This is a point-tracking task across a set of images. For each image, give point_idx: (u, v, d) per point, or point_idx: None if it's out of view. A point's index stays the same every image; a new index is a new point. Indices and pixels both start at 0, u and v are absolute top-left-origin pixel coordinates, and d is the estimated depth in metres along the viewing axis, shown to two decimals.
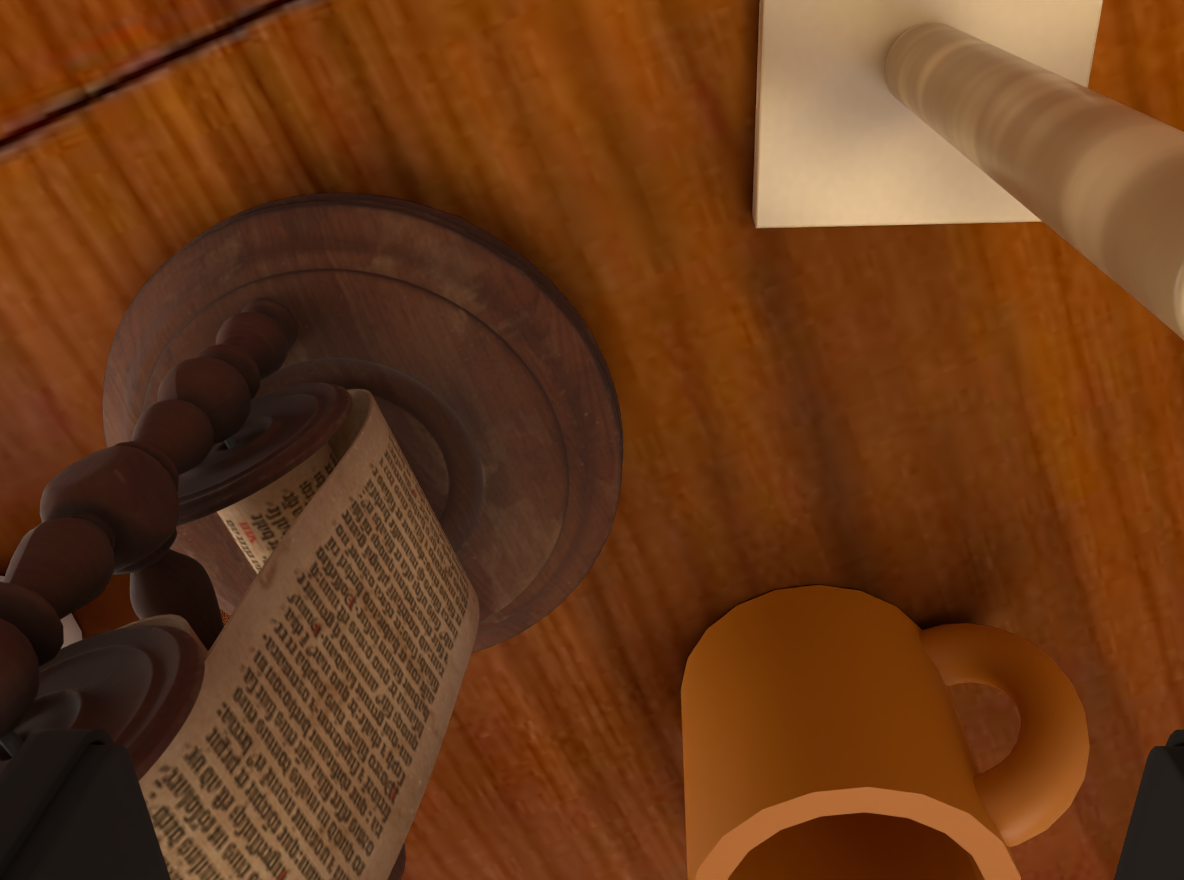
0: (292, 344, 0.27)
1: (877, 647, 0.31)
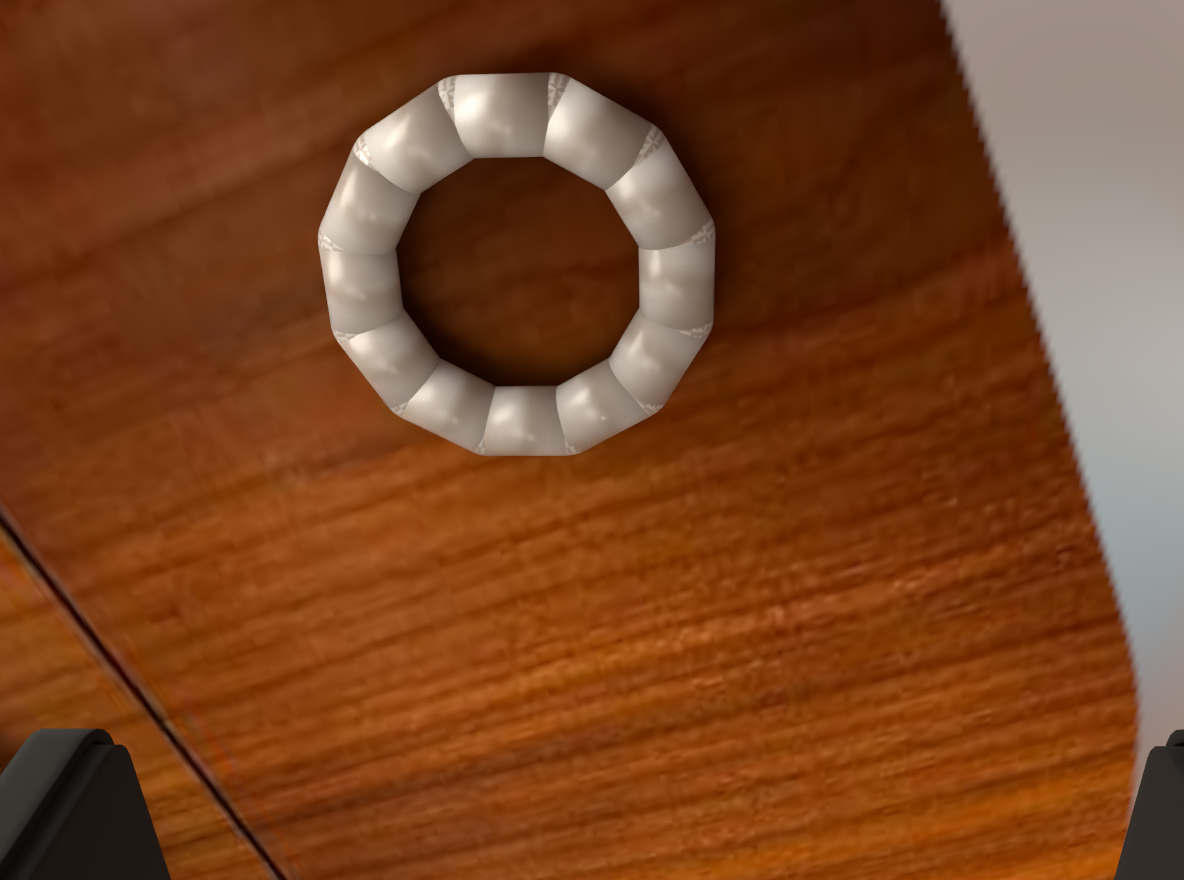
0: None
1: None
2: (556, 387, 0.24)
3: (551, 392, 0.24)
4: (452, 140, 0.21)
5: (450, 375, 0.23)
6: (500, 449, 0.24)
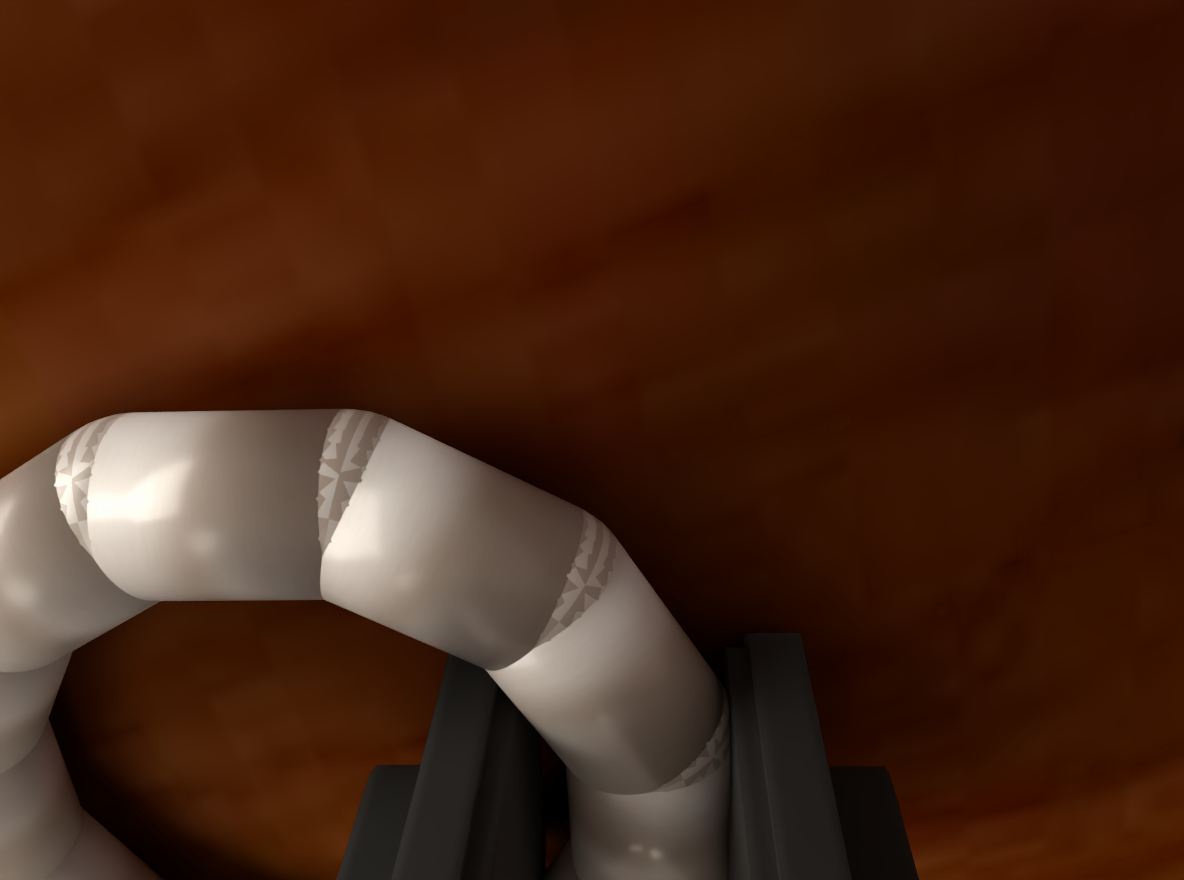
0: None
1: None
2: None
3: None
4: (97, 586, 0.08)
5: None
6: None
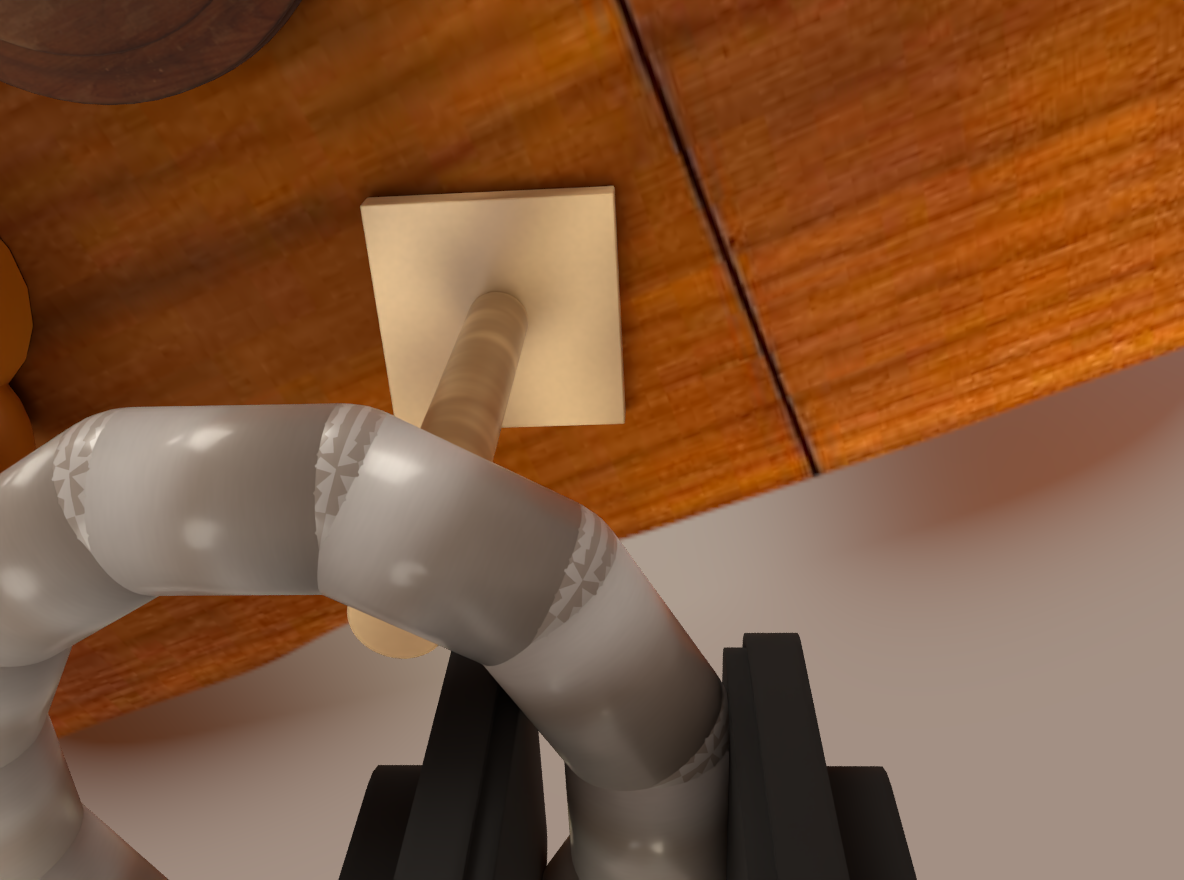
0: None
1: None
2: None
3: None
4: (93, 580, 0.08)
5: None
6: None
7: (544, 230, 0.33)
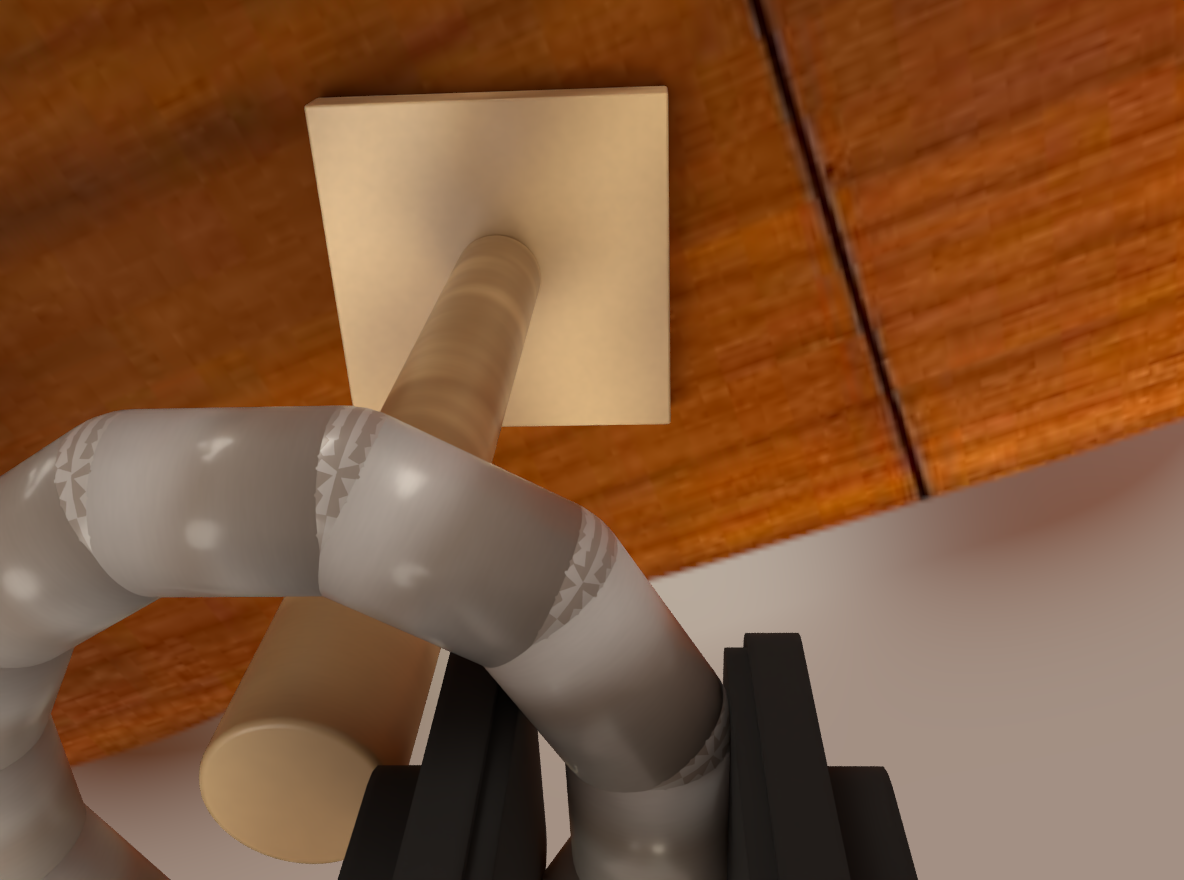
0: None
1: None
2: None
3: None
4: (97, 582, 0.08)
5: None
6: None
7: (566, 146, 0.23)
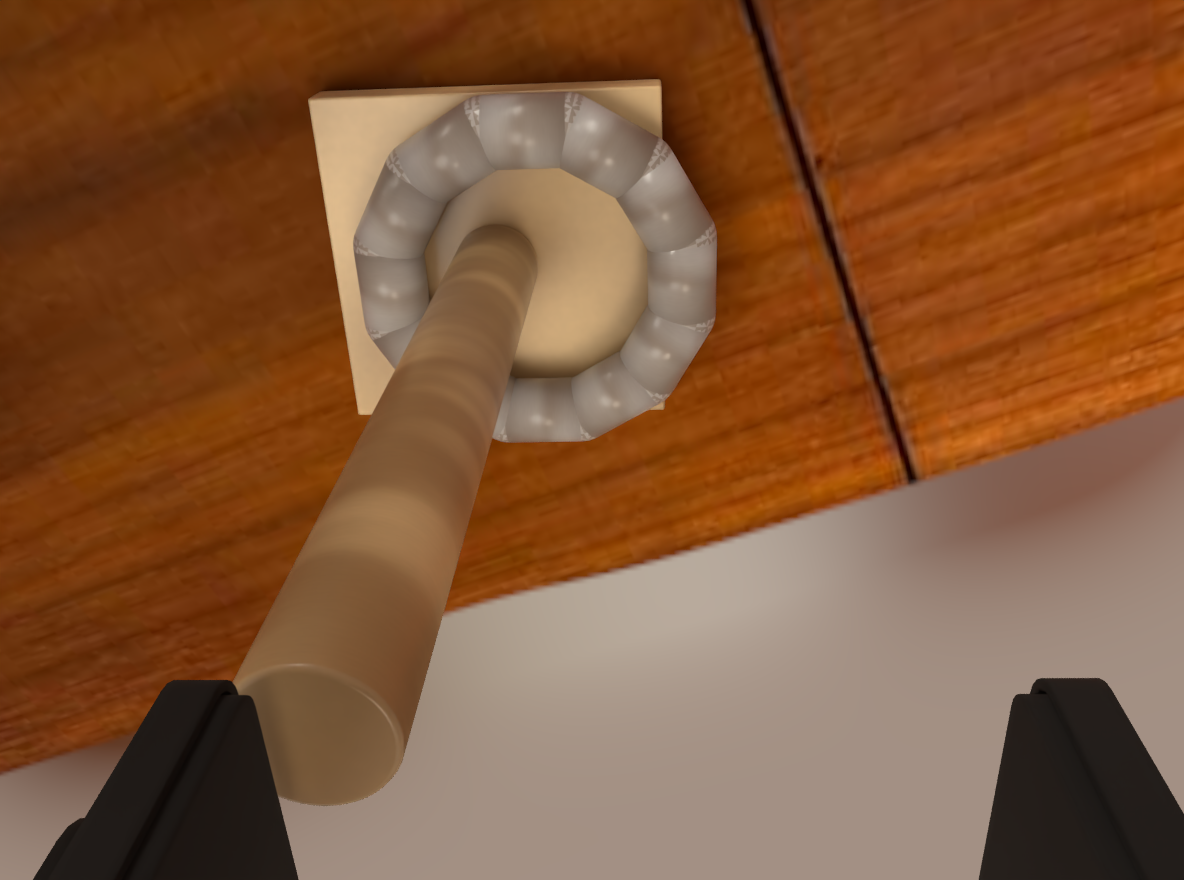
0: None
1: None
2: (571, 378, 0.26)
3: (567, 383, 0.26)
4: (477, 154, 0.23)
5: None
6: (520, 436, 0.26)
7: None
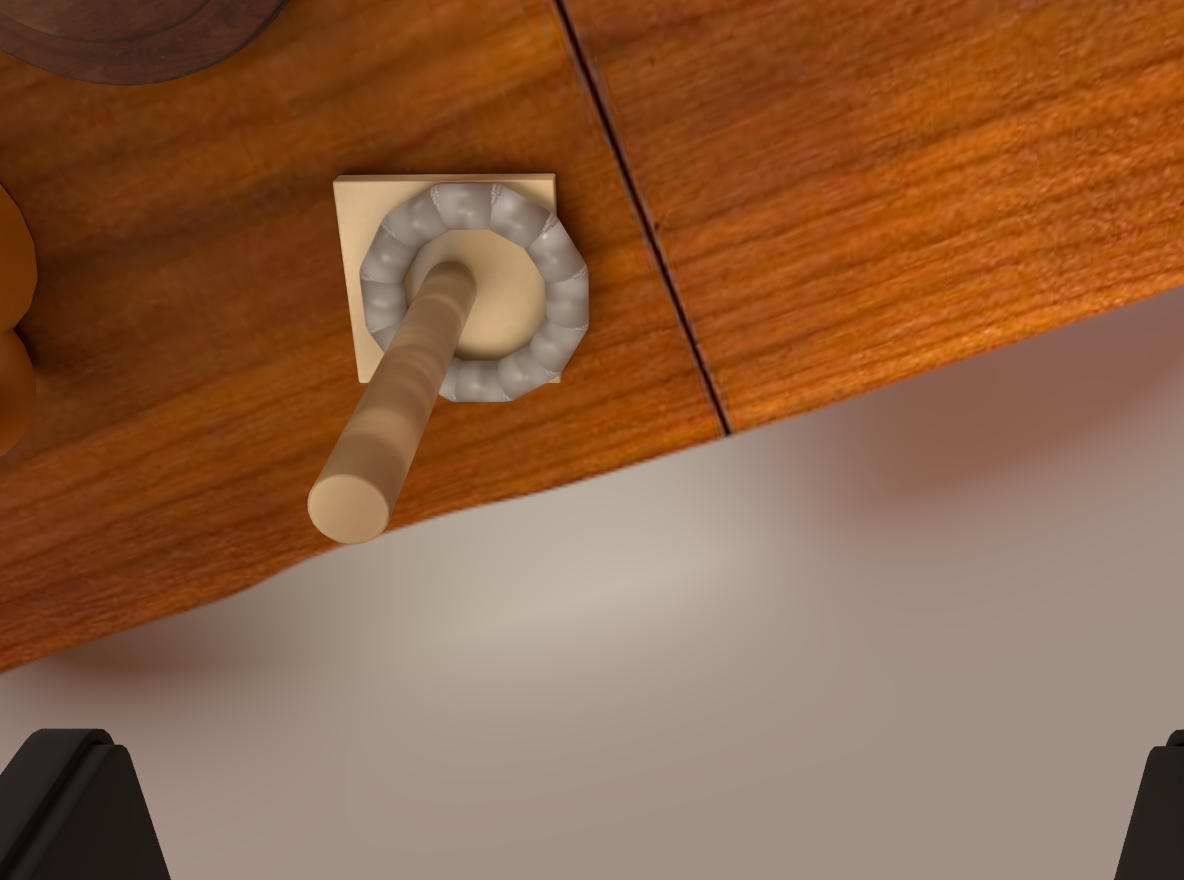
0: None
1: None
2: (498, 361, 0.40)
3: (495, 364, 0.40)
4: (438, 221, 0.37)
5: None
6: (464, 397, 0.40)
7: None
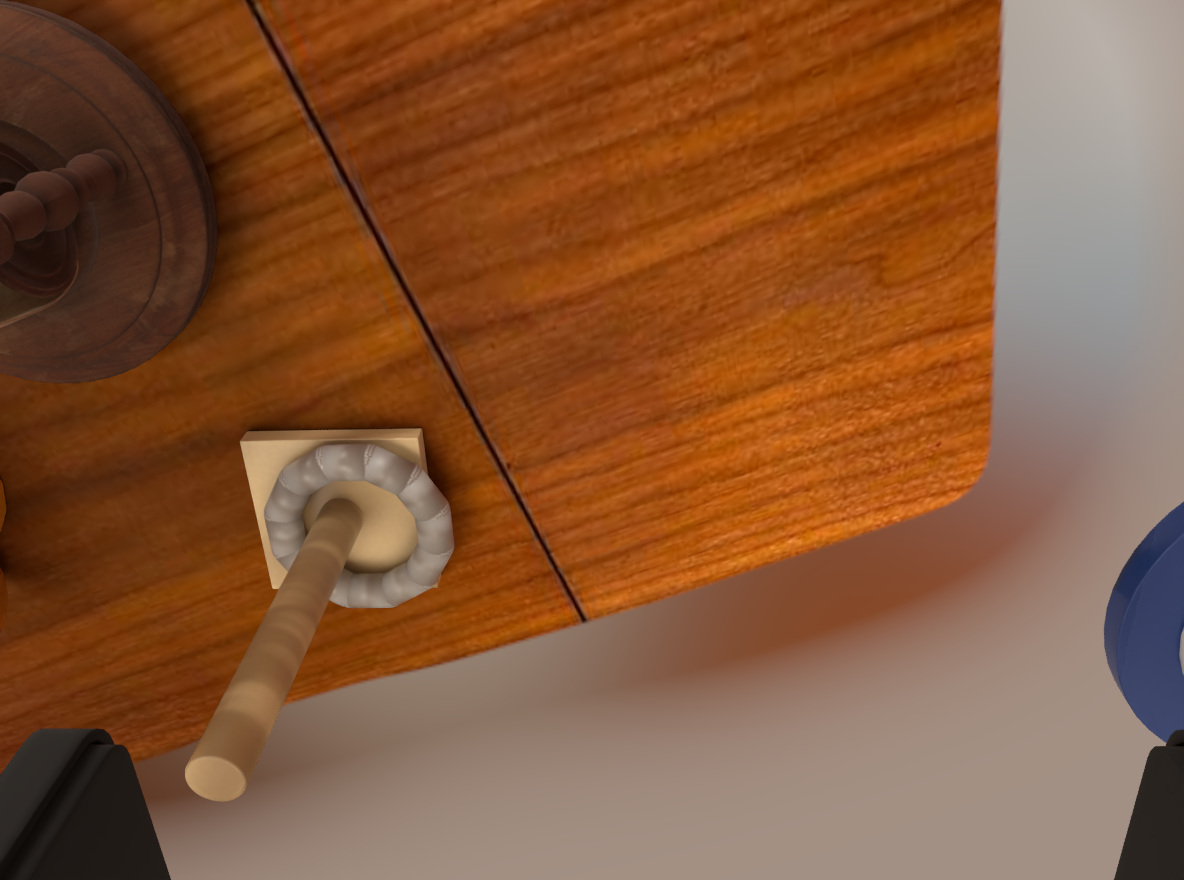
0: None
1: None
2: (383, 575, 0.48)
3: (380, 578, 0.48)
4: (322, 477, 0.45)
5: None
6: (355, 606, 0.48)
7: None
